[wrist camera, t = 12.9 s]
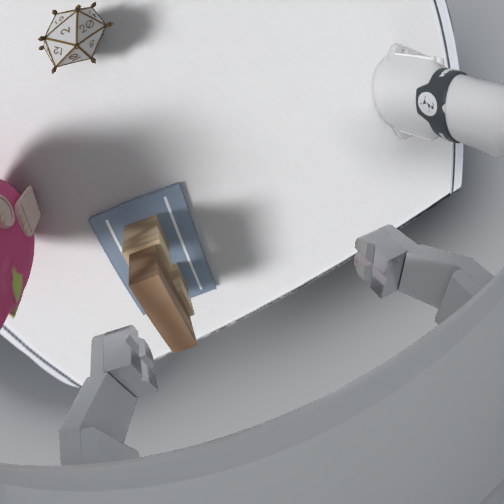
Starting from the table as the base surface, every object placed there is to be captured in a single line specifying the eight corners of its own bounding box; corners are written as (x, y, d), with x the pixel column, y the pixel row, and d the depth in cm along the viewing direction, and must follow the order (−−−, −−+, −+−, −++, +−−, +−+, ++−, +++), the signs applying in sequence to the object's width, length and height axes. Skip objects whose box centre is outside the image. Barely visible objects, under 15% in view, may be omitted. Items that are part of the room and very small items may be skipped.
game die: (88, 31, 24) (102, -23, 15) (113, 67, 26) (133, 11, 18) (29, 59, 20) (28, 3, 11) (51, 100, 22) (50, 42, 14)
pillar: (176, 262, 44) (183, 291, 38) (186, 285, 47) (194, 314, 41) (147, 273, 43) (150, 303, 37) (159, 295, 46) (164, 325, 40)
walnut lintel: (155, 244, 33) (158, 274, 28) (189, 314, 41) (197, 345, 36) (129, 254, 32) (128, 285, 28) (167, 321, 40) (173, 353, 35)
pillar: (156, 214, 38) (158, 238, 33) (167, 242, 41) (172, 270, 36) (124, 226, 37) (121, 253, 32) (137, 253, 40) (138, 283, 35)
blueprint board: (179, 182, 38) (179, 184, 37) (215, 285, 50) (216, 288, 49) (89, 218, 35) (88, 220, 35) (143, 311, 47) (143, 315, 47)
